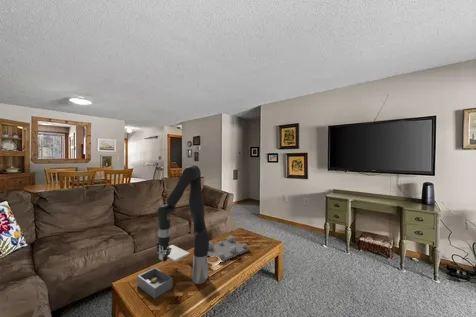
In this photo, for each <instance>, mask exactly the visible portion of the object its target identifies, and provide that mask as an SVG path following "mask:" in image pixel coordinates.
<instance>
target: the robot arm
mask: <svg viewBox="0 0 476 317" xmlns="http://www.w3.org/2000/svg"><path fill="white" fill-rule="evenodd" d="M201 176H202V173H201V169H200V167H199V166H198V165H195V164H191V165H188V166H187V167H185V168H183V171H182V173H181V175H180V178H179V180H178V181H177V183H176V185H175V186H174V188H173V189H172V191H171V192H170V194H169V195H168V196H167V197H166V203H165V204H164V205H160V206H158V209H157V218H158V223H159V224H158V233H157V243H156V242H155V244H156V245H155V246H156V251H157V252H159V253H158V255H159V254H160V253H163V260H161V259H159V260H160V261H162V262H163V263H165V262H167V261H168V260H167V259H168V258H167V256H168V255H170V252H171V249H172V248H169V246H170V245H169V243H170V241H171V219H170V218H169V217H168V216H169V215H171V214H172V213H173V212H174V211H175V209H176V206H177V204H178V203H179V201H180V200H181V199H182V197H183V195H184V193H185V191H186V189H187V187H188V186H189V188H190V190H189V197H188V204H189V211H190V215H191V219H192V222H193V238H194V246H193V253H192V254H193V257H192V277H191V278H192V279H191V280H192V283H194V284H196V285H201V284H204V283H205V282H206V281H207V279H209V276H208V275H209V263H208V257H209V256H208V250H209V242H210V235H209V232H208V229H207V227H206V222H205V212H206V211H205V203H204V195H203V189H202V180H201V179H202V178H201ZM165 250H166V251H165ZM157 252H156V253H157ZM165 252H166V254H165Z"/></svg>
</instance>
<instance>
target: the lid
mask: <svg viewBox="0 0 476 317" xmlns="http://www.w3.org/2000/svg"><path fill="white" fill-rule="evenodd" d="M169 248H172V249H171V252H170V255H168V256H167V259H169V260H170V261H172V262H175V263H176V262H177V261H179V260H181V259H184V258H185V257H187V256H190V252H188V251H187V250H185V249H182V248H180V247H178V246H176V245H174V244H171V245H169ZM165 251H166V250H165ZM156 253H157V254H158V259H159V260H160V259H161V260H160V261H163V253H160V254H159V252H156ZM165 254H166V252H165Z"/></svg>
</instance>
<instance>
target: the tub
mask: <svg viewBox="0 0 476 317" xmlns="http://www.w3.org/2000/svg"><path fill="white" fill-rule="evenodd" d="M136 280H137V281H136V282H137V283H136V285H137V287H139V288H140V289H141V290H142V291H143V292H145V293H146V294H147V295H149V296H150V297H152V298H153V299H154V300H155V299H157V298H158V297H159V296H161V295H163V294H164V293H167V292H168V291H169V290H171V289H172V288H173V280H174V278H173V277H172V276H170V275H168V273H165V272H164V271H162V270H160V269H159V268H157V267H156V266H155V267H153V268H152V269H149V270H147V271H145V272H143V273H140V274H139V275H137V279H136Z"/></svg>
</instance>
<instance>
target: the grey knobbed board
mask: <svg viewBox="0 0 476 317" xmlns="http://www.w3.org/2000/svg"><path fill="white" fill-rule="evenodd" d="M250 250H251V249H250V248H249V247H248V244H247V243H246V242H245V243H240V242H238V241H237V240H235V237H234V236H233V235H230V236H228V237H227V240H225V241H223V240H220V241H219V242H218V243H215V242H214V243H213V242H212V241H211V240H209V250H208V257H209V256H213V255H216V256H218V257H220V258H221V260H222V261H224V262H226V261H228V260H227V259H229V260H230V258H231V259H233V258H235V257H237V255H238V256H239V254H240V255H243V254H244V252H245V253H246V251H247V252H249V251H250ZM232 257H233V258H232ZM225 260H226V261H225Z"/></svg>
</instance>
